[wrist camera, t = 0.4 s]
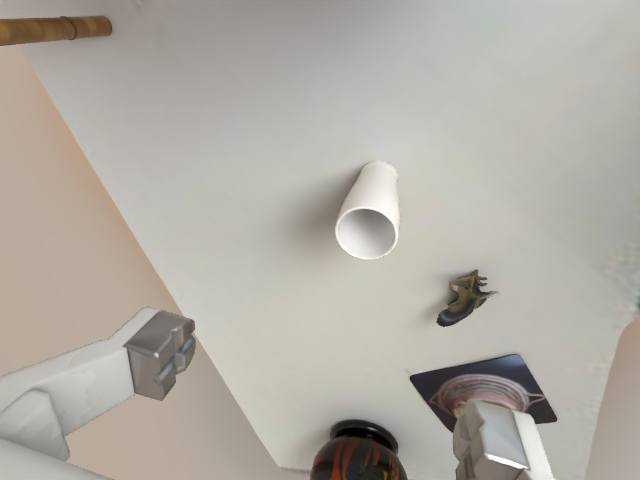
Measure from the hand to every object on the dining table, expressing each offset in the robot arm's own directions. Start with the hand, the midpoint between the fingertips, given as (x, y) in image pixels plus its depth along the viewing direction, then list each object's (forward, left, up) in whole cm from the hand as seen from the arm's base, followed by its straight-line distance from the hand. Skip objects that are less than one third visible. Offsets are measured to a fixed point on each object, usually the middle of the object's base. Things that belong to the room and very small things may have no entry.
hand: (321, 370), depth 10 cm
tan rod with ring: (+1, -39, -40) cm, 55 cm away
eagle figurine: (+25, +19, -40) cm, 51 cm away
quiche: (+49, +33, -40) cm, 71 cm away
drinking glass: (+11, +1, -40) cm, 41 cm away
